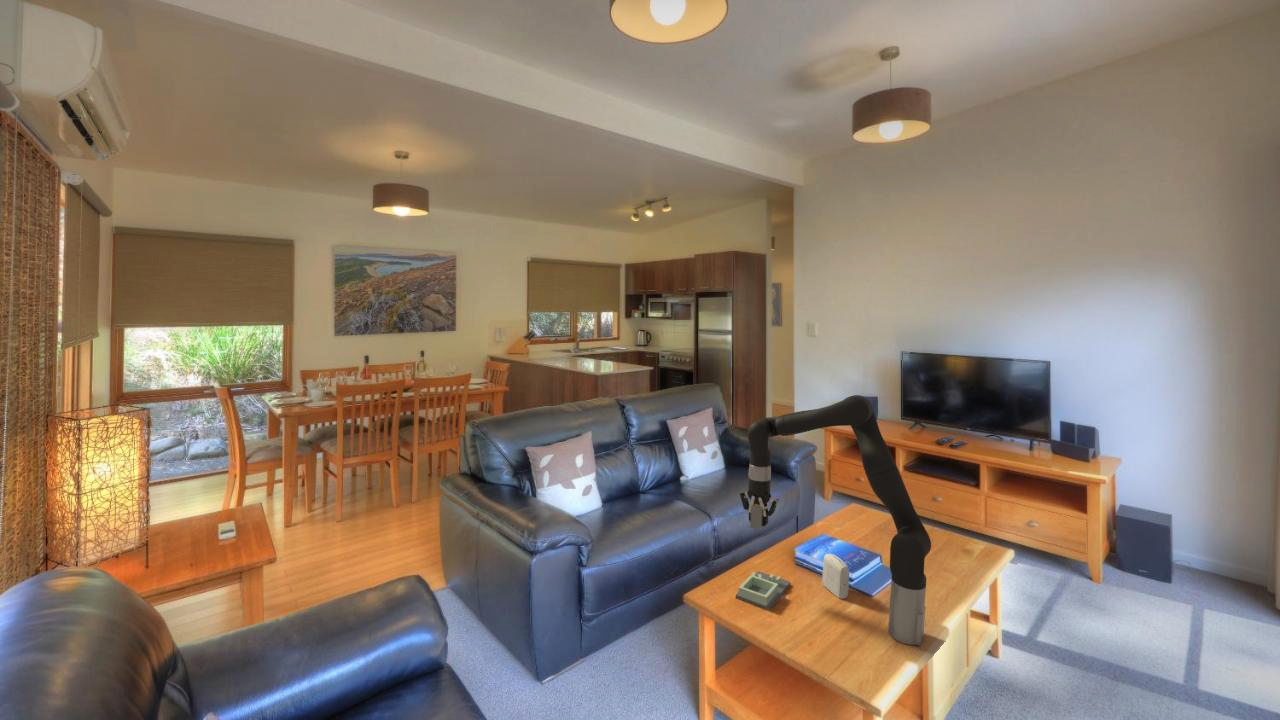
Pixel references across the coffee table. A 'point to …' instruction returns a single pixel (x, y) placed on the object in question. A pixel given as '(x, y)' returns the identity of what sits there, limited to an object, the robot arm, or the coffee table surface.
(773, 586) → the end holder
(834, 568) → the photo printer
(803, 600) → the coffee table surface
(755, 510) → the block
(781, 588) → the board
